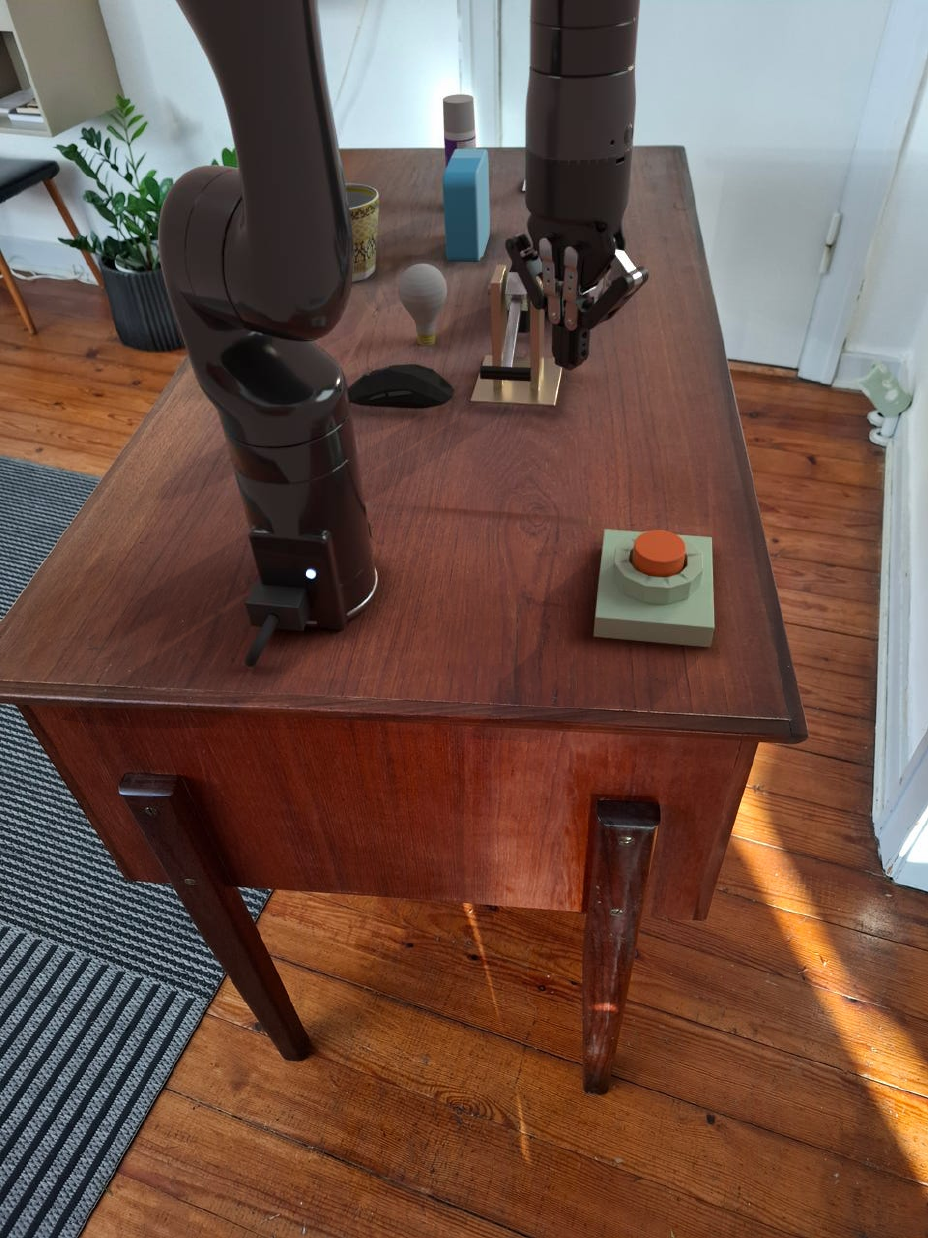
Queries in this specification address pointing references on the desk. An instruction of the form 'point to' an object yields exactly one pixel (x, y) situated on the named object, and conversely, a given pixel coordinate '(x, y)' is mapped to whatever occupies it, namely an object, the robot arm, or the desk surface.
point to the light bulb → (423, 298)
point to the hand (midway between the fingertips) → (569, 364)
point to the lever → (511, 335)
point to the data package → (466, 204)
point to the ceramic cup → (363, 228)
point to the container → (458, 124)
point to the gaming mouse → (401, 388)
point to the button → (659, 553)
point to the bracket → (543, 369)
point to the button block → (655, 595)
